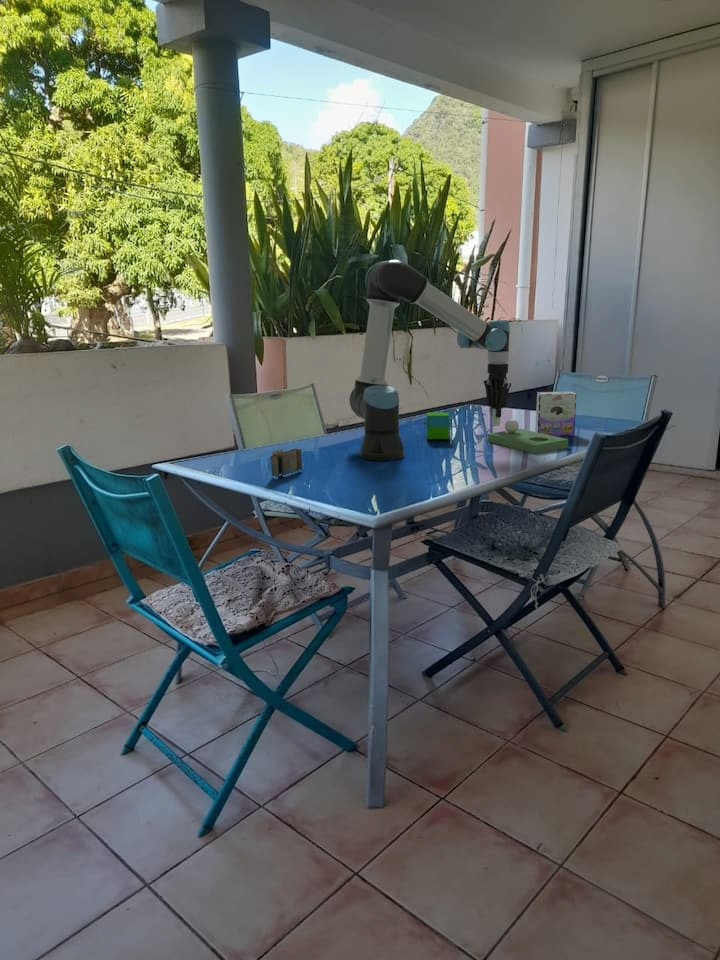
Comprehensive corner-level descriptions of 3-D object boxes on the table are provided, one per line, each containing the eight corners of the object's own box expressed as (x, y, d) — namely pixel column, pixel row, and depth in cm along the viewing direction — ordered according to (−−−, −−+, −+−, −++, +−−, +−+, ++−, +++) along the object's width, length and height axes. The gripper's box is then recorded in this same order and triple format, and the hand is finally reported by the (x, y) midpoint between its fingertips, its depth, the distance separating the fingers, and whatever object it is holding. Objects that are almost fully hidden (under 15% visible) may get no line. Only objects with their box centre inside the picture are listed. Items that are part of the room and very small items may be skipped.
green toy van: (450, 434, 260) (450, 409, 258) (451, 442, 248) (452, 415, 245) (424, 434, 261) (424, 409, 259) (424, 442, 248) (424, 415, 246)
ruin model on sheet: (279, 481, 201) (277, 450, 199) (272, 480, 203) (270, 449, 200) (303, 473, 210) (302, 443, 208) (296, 471, 212) (294, 442, 209)
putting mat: (534, 453, 226) (534, 445, 225) (487, 441, 246) (487, 433, 245) (567, 447, 234) (568, 439, 233) (519, 436, 254) (520, 428, 253)
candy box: (571, 433, 257) (573, 391, 252) (574, 436, 251) (577, 393, 247) (534, 433, 258) (536, 391, 254) (537, 436, 252) (539, 393, 248)
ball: (511, 434, 243) (511, 421, 241) (501, 432, 247) (502, 419, 245) (521, 433, 245) (521, 419, 244) (511, 430, 249) (512, 417, 248)
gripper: (517, 363, 243) (515, 427, 249) (493, 360, 254) (492, 421, 260) (502, 364, 239) (500, 429, 245) (478, 362, 250) (477, 424, 256)
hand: (495, 425), depth 253 cm, fingers closed
